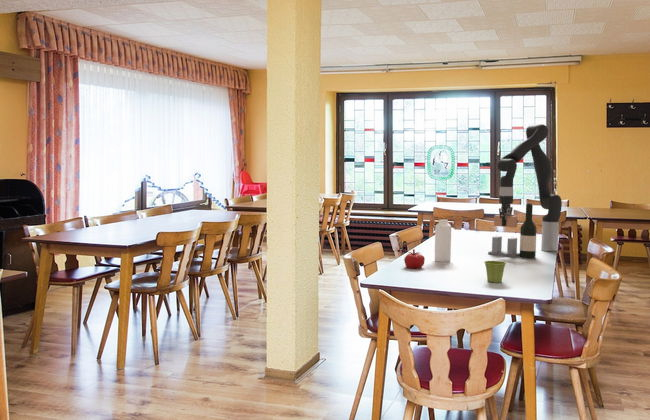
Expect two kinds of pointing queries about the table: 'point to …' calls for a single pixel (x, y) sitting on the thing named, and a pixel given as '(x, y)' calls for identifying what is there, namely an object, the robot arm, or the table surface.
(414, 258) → the red apple
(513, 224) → the rectangular block
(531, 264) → the table surface
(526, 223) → the wine bottle
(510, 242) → the stand
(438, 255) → the milk
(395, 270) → the table surface
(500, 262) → the plant pot
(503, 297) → the table surface
